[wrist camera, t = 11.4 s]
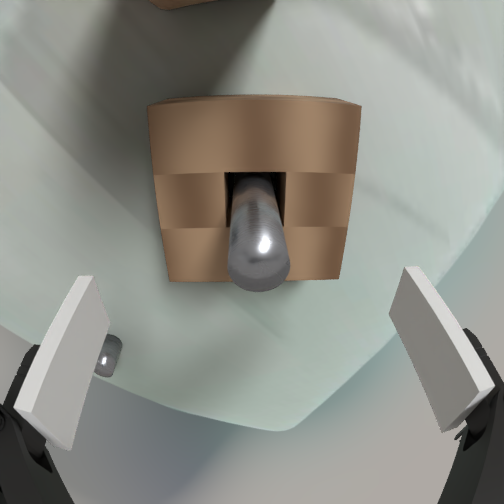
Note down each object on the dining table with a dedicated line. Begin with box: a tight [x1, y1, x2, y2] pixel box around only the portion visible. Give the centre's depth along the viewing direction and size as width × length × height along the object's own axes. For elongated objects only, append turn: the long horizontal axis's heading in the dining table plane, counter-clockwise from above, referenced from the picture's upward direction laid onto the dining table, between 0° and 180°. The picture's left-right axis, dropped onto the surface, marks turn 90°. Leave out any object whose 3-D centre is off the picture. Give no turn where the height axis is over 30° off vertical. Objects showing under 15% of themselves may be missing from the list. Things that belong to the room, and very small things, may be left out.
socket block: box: [147, 95, 362, 282], centre depth 24 cm, size 14×14×6 cm
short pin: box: [94, 334, 122, 377], centre depth 36 cm, size 3×3×5 cm
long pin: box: [227, 172, 290, 292], centre depth 21 cm, size 3×3×14 cm
